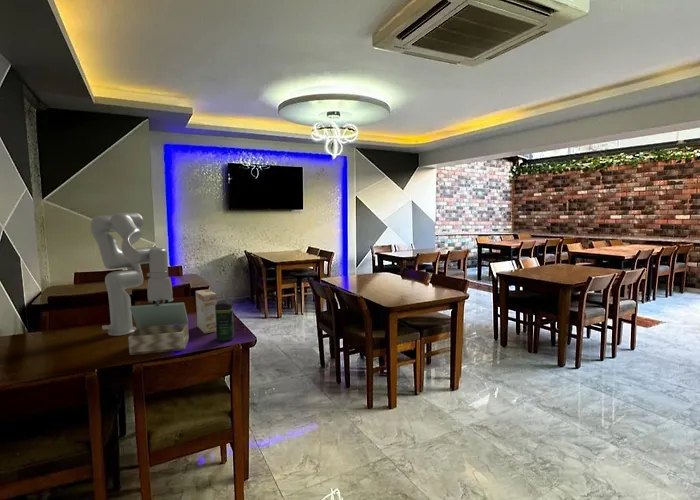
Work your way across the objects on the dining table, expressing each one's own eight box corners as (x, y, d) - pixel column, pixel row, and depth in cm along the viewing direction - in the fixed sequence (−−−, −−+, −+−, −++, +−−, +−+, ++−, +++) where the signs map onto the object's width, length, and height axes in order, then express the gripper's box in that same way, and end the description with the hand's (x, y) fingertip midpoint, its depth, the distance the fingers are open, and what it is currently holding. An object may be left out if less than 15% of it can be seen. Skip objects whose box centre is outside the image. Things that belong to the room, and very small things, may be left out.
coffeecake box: (218, 331, 203) (216, 293, 201) (204, 333, 199) (202, 295, 197) (210, 324, 215) (208, 288, 213) (197, 326, 211) (194, 290, 209)
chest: (129, 355, 171) (128, 337, 170) (138, 344, 185) (137, 327, 184) (184, 349, 177) (183, 332, 176) (188, 339, 190) (187, 323, 189)
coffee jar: (232, 341, 187) (230, 302, 185) (215, 342, 186) (213, 303, 184) (235, 334, 197) (233, 298, 195) (219, 335, 196) (217, 298, 194)
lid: (129, 306, 174) (130, 303, 175) (137, 327, 184) (137, 324, 185) (183, 302, 179) (183, 300, 180) (187, 323, 189) (188, 320, 190)
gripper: (139, 277, 177) (142, 317, 179) (175, 275, 181) (177, 315, 183) (143, 274, 184) (145, 313, 186) (178, 273, 188) (180, 310, 190)
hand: (161, 314), depth 185 cm, fingers closed
